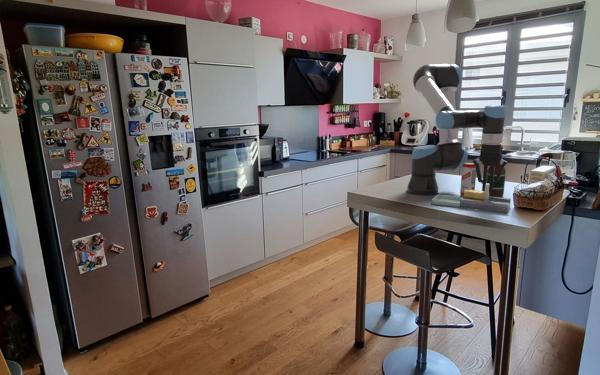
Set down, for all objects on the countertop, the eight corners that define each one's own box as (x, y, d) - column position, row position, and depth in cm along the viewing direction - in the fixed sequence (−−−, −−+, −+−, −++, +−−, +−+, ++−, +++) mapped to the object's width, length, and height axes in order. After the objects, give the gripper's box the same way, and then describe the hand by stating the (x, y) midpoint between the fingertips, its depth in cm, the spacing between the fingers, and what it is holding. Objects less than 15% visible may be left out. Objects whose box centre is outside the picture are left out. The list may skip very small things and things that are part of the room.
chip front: (473, 201, 155) (473, 192, 154) (474, 199, 158) (475, 190, 158) (483, 202, 153) (484, 193, 152) (484, 200, 156) (485, 191, 155)
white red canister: (468, 198, 170) (470, 164, 166) (457, 195, 175) (459, 163, 172) (477, 196, 173) (479, 163, 169) (465, 193, 178) (468, 161, 175)
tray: (430, 204, 162) (431, 199, 162) (437, 198, 171) (437, 194, 171) (459, 207, 155) (459, 203, 155) (464, 201, 165) (465, 197, 164)
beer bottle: (481, 194, 176) (485, 145, 170) (496, 194, 176) (501, 144, 171) (491, 198, 168) (495, 147, 163) (507, 197, 169) (512, 146, 163)
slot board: (459, 207, 156) (460, 199, 155) (464, 201, 164) (465, 193, 164) (507, 213, 146) (508, 204, 145) (510, 206, 154) (510, 198, 154)
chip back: (463, 200, 158) (464, 191, 157) (465, 198, 161) (465, 189, 160) (473, 201, 156) (474, 192, 155) (474, 199, 159) (475, 190, 158)
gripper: (472, 144, 149) (468, 199, 155) (508, 145, 142) (502, 202, 148) (475, 142, 155) (471, 195, 161) (510, 143, 148) (504, 198, 154)
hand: (486, 198), depth 154 cm, fingers closed
